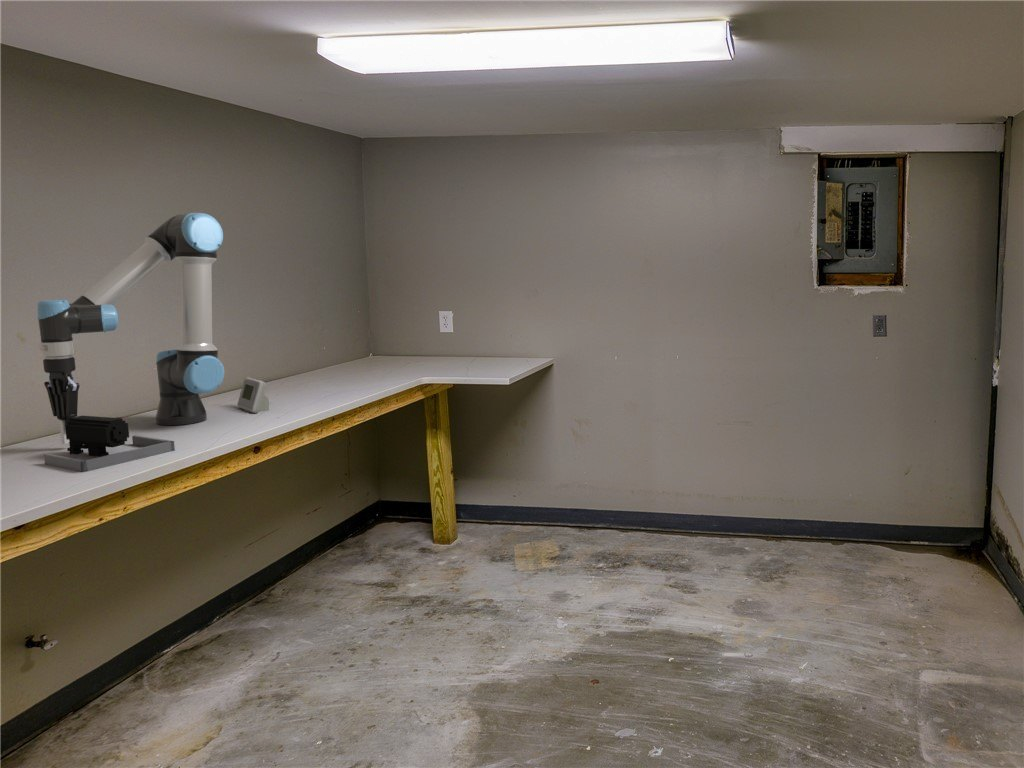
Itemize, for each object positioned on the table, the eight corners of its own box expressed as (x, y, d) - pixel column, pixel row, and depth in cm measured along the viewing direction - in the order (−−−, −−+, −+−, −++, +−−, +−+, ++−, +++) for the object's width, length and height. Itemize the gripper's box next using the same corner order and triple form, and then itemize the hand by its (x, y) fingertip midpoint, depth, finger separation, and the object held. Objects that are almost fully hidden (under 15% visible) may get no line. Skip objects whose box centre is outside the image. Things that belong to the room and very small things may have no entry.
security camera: (82, 449, 220) (78, 413, 219) (133, 454, 213) (129, 417, 212) (60, 455, 214) (56, 418, 212) (111, 460, 207) (107, 422, 205)
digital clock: (236, 408, 280) (234, 377, 279) (263, 405, 284) (261, 375, 283) (243, 415, 266) (241, 383, 264) (271, 412, 270) (269, 381, 268)
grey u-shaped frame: (136, 443, 226) (135, 435, 225) (174, 450, 217) (174, 441, 216) (45, 463, 205) (43, 454, 204) (83, 471, 196) (82, 461, 195)
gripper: (31, 357, 218) (41, 442, 221) (58, 359, 211) (68, 447, 215) (58, 354, 224) (67, 437, 228) (86, 356, 218) (95, 441, 221)
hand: (68, 442), depth 221 cm, fingers closed
